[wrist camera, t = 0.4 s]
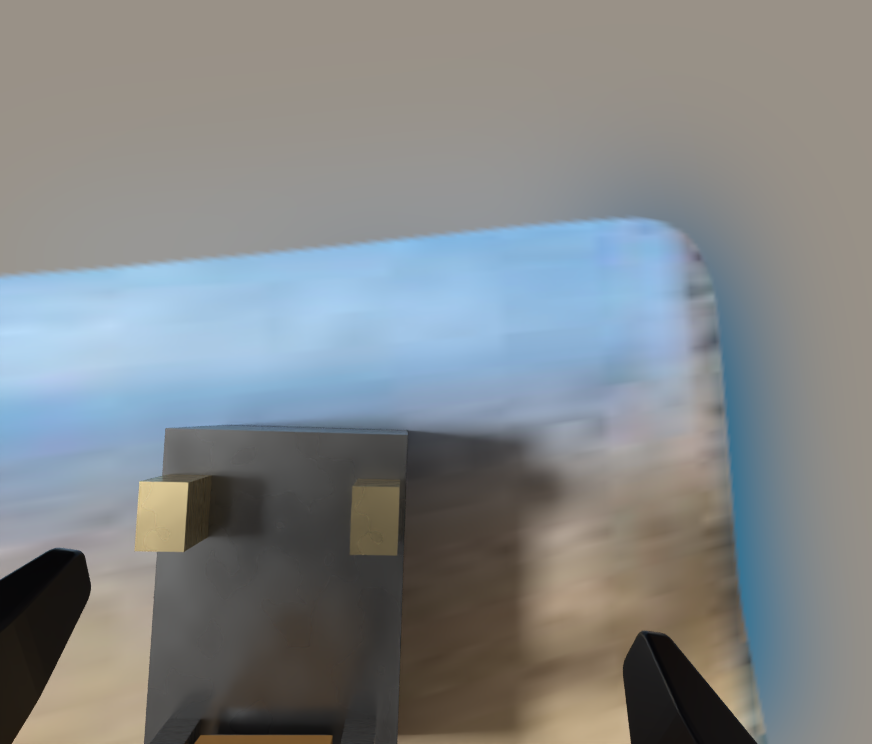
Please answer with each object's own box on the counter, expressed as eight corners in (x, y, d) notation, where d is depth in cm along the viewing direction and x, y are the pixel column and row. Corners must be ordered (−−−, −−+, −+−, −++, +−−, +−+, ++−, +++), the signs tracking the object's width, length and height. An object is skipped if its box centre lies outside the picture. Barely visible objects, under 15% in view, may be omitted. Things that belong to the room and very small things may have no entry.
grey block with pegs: (396, 736, 24) (392, 898, 16) (206, 736, 23) (102, 902, 15) (407, 430, 25) (407, 437, 17) (224, 424, 24) (136, 429, 16)
